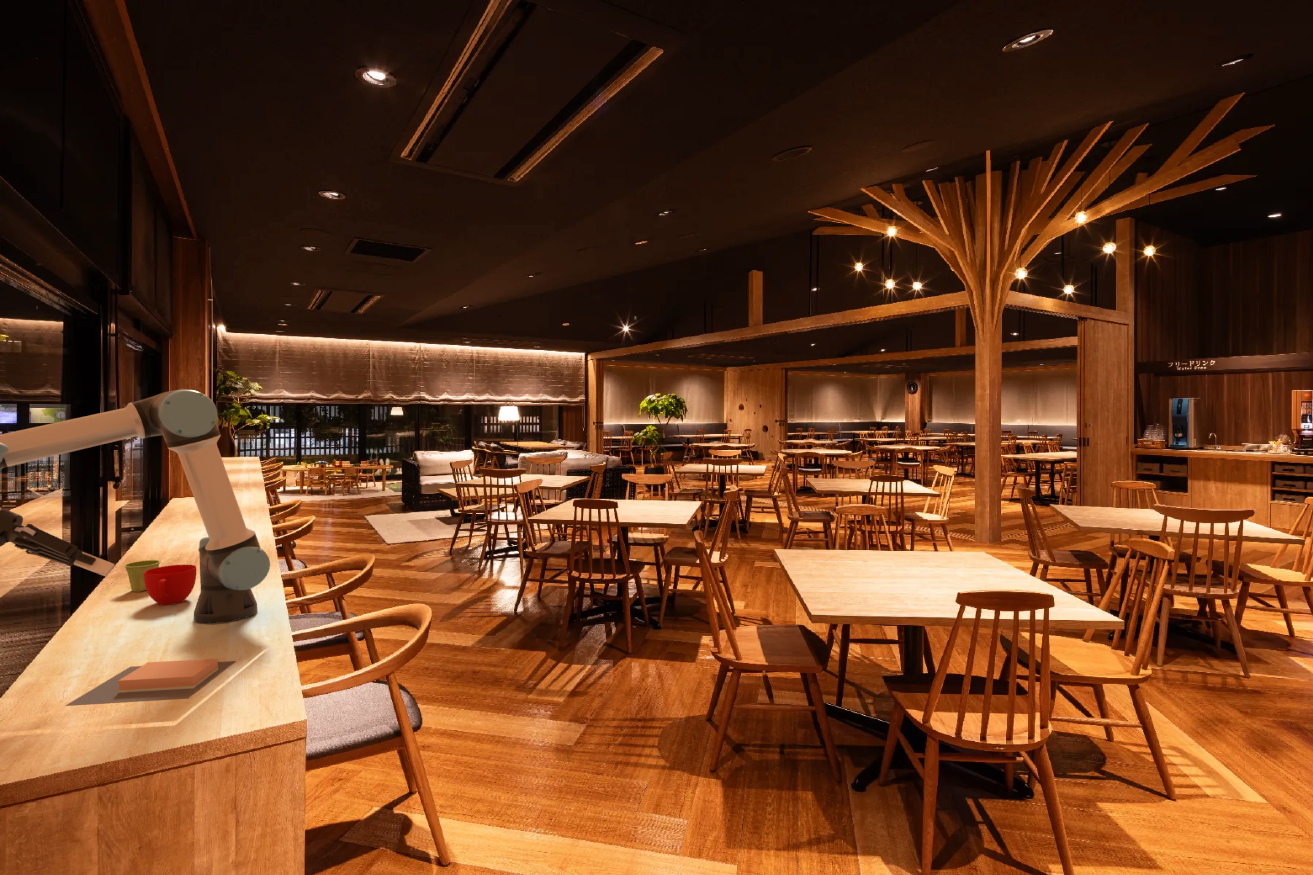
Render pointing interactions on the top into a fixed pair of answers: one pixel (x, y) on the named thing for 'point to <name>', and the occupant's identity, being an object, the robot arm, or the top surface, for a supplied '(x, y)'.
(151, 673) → the tile
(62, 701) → the top surface
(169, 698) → the mat
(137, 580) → the plant pot
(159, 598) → the ceramic cup
